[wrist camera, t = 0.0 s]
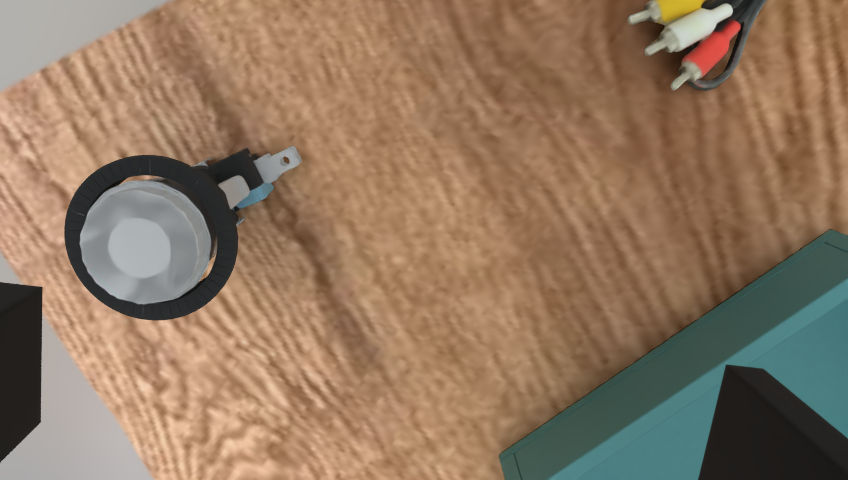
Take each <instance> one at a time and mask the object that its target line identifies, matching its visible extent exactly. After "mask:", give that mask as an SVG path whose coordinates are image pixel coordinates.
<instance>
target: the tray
mask: <svg viewBox="0 0 848 480" xmlns="http://www.w3.org/2000/svg"><path fill="white" fill-rule="evenodd" d="M726 364H727V365H736V366H745V367H754V368H763V369H765V370H766V371H767V372H768V373H769V374H771V375H772V376H773V377H774V378H775V379H777V380H778V381H779V382H780V383H781V384H783V385H784V386H785V387H786V388H788V389H789V390H790V391H791V392H792V393H794V394H795V395H796V396H797V397H798V398H800V399H801V400H802V401H803V402H804V403H806V404H807V405H808V406H809V407H810V408H812V409H813V410H814V411H815V412H817V413H818V414H819V415H820V416H821V417H823V418H824V419H825V420H826V421H827V422H829V423H830V424H831V425H832V426H833V427H835V428H836V429H837V430H838V431H840V432H841V433H842V434H843V435H844V436H846V437H847V438H848V236H847V235H845V234H842V233H838V232H837V231H835V230H832V229H831V230H829V231H827V232H826V233H824V234H823V235H821V236H820V237H818V238H817V239H816V240H814V241H813V242H811V243H810V244H808V245H807V246H805V247H804V248H802V249H801V250H799V251H798V252H796V253H795V254H793V255H792V256H791V257H789V258H788V259H786V260H785V261H783V262H782V263H780V264H779V265H777V266H776V267H774V268H773V269H771V270H770V271H768V272H767V273H766V274H764V275H763V276H761V277H760V278H758V279H757V280H755V281H754V282H752V283H751V284H749V285H748V286H746V287H745V288H743V289H742V290H741V291H739V292H738V293H736V294H735V295H733V296H732V297H730V298H729V299H727V300H726V301H724V302H723V303H721V304H720V305H719V306H717V307H716V308H714V309H713V310H711V311H710V312H708V313H707V314H705V315H704V316H702V317H701V318H699V319H698V320H696V321H695V322H694V323H692V324H691V325H689V326H688V327H686V328H685V329H683V330H682V331H680V332H679V333H677V334H676V335H674V336H673V337H671V338H670V339H669V340H667V341H666V342H664V343H663V344H661V345H660V346H658V347H657V348H655V349H654V350H652V351H651V352H649V353H648V354H647V355H645V356H644V357H642V358H641V359H639V360H638V361H636V362H635V363H633V364H632V365H630V366H629V367H627V368H626V369H624V370H623V371H622V372H620V373H619V374H617V375H616V376H614V377H613V378H611V379H610V380H608V381H607V382H605V383H604V384H602V385H601V386H599V387H598V388H597V389H595V390H594V391H592V392H591V393H589V394H588V395H586V396H585V397H583V398H582V399H580V400H579V401H577V402H576V403H574V404H573V405H572V406H570V407H569V408H567V409H566V410H564V411H563V412H561V413H560V414H558V415H557V416H555V417H554V418H552V419H551V420H550V421H548V422H547V423H545V424H544V425H542V426H541V427H539V428H538V429H536V430H535V431H533V432H532V433H530V434H529V435H527V436H526V437H525V438H523V439H522V440H520V441H519V442H517V443H516V444H514V445H513V446H511V447H510V448H508V449H507V450H505V451H504V452H502V453H501V454H500V455H499V458H500V462H501V466H502V470H503V474H504V477H505V480H698V478H699V474H700V469H701V465H702V461H703V457H704V453H705V449H706V445H707V441H708V436H709V432H710V428H711V424H712V420H713V416H714V412H715V408H716V403H717V399H718V395H719V391H720V387H721V383H722V379H723V375H724V370H725V366H726Z"/></svg>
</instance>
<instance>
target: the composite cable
mask: <svg viewBox="0 0 848 480" xmlns="http://www.w3.org/2000/svg"><path fill="white" fill-rule="evenodd" d="M766 1H767V0H651V1H649V2H648V3H647V4H646V5H645V10H644V11H642V12H638V13H636V14H633V15H629V17H628V20H627V21H628V23H629V24H630V25H634V24H637V23H639V22H642V21H646V20H647V21H652V22H656V23H659V24H663V25H665V28H664V30H663V31H662V32H661V33H660V35H659V36H658V38H657V39H656V40H655V41H653V42H652V43H651V44H650V46H647V47H646V48H645V50H644V53H645V55H646V56H650V55H652V54H654V53H656V52H658V51H659V50H661V49H663V50H664V51H666V52H670V53H671V52H673V51H675V52H678V51H681V50H683V49H684V48H686V47H688V46H689V48H688V50H687V52H686V54H685V57H684V58H683V59H682V62H681V67H680V68H679V70H678V72H679V75H680V76H679V77H677V78H676V79H675V80H674V81H673V83H672V84H671V89H672V90H676V89H677V88H679V87H680V86H681V85H682V84H683V83H684V82H685V81H687V82H688V84H689V85H690V86H691V87H693V88H695V89H698V90H704V91H707V90H711V89H714V88H716V87H717V86H718V85H720V84H721V83H722V82H723V81H725V80H726V79H727V78H728V77H729V76H730V75H731V74H732V72H733V71H734V69H735V67H736V66H737V64H738V62H739V60H740V57H741V54H742V52H743V49H744V46H745V43H746V40H747V37H748V34H749V31H750V29H751V27H752V25H753V22H754V20H755V19H756V17H757V15H758V13H759V11H760V10H761V8H762V7H763V5H764V3H765V2H766ZM741 23H742V24H741ZM740 24H741V26H740ZM737 33H738V35H737V38H736V41H735V44H734V47H733V50H732V53H731V56H730V59H729V61H728V63H727V66H726V68H725V70H724V71H723V73H721V74H720V75H719V76H718V77H716V78H715V79H713V80H707V81H703V80H700V79H699V78H702V77H703V76H704V75H705V74H706V73H707V72H708V71H709V70H710V69H711V68H712V67H713V66H714V65H715V64H716V63H718V62H719V61H720V59H721V58H722V57H723V56H724V55H725V54H726V53H727V52H728V49H729V42H730V40H731V39H732V38H733V37H734V36H735V35H736V34H737Z"/></svg>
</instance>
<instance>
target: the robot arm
mask: <svg viewBox="0 0 848 480" xmlns="http://www.w3.org/2000/svg"><path fill="white" fill-rule="evenodd" d="M41 351H42V287H37V286H28V285H19V284H10V283H2V282H0V462H1V461H2V460H3V459H4V458H5V457H6V456H7V455H8V454H9V453H10V452H11V451H12V450H13V449H14V448H15V447H16V446H17V445H18V444H19V443H20V442H21V441H22V440H23V439H24V438H25V437H26V436H27V435H28V434H29V433H30V432H31V431H32V430H33V429H34V428H35V427H36V426H37V425H38V424H39V423H40V422H41V419H40V418H41ZM698 480H848V438H847V437H846V436H844V435H843V434H842V433H841V432H840V431H838V430H837V429H836V428H835V427H833V426H832V425H831V424H830V423H829V422H827V421H826V420H825V419H824V418H823V417H821V416H820V415H819V414H818V413H817V412H815V411H814V410H813V409H812V408H810V407H809V406H808V405H807V404H806V403H804V402H803V401H802V400H801V399H800V398H798V397H797V396H796V395H795V394H794V393H792V392H791V391H790V390H789V389H788V388H786V387H785V386H784V385H783V384H781V383H780V382H779V381H778V380H777V379H775V378H774V377H773V376H772V375H771V374H769V373H768V372H767V371H766V370H765V369H763V368H754V367H745V366H736V365H727V364H726V366H725V370H724V375H723V379H722V383H721V387H720V391H719V395H718V399H717V403H716V408H715V412H714V416H713V420H712V424H711V428H710V432H709V436H708V441H707V445H706V449H705V453H704V457H703V461H702V465H701V469H700V474H699V478H698Z"/></svg>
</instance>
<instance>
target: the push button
mask: <svg viewBox="0 0 848 480" xmlns="http://www.w3.org/2000/svg"><path fill="white" fill-rule="evenodd" d="M284 156H285V157H287V158H289V160H290V163H286V162H284V160H283V157H284ZM211 159H213V157H211V158H209V159H206V160H204V161H202V162H200V163H198V164H196V165H194V166H192V167H191V166H189V165H187V164H185V163H183V162H181V161H178V160H175V159H172V158H168V157H163V156H156V155H138V156H131V157H126V158H123V159H120V160H117V161H114V162H111V163H109V164H107V165H105V166H103V167H101V168H100V169H98V170H97V171H95V172H94V173H93V174H91V175H90V176H89V177H88V178H87V179H86V180H85V181H84V182H83V183H82V184H81V186H80V187H79V188H78V190H77V191H76V193H75V194H74V196H73V198H72V200H71V202H70V205H69V208H68V210H67V215H66V219H65V245H66V249H67V254H68V257H69V260H70V263H71V265H72V267H73V269H74V271H75V273H76V274H77V276H78V278H79V279H80V281H81V282H82V283H83V285H84V286H85V287H86V288H87V289H88V290H89V292H90V293H91V294H93V295H94V296H95V297H96V298H97V299H98V300H100V301H101V302H102V303H104V304H105V305H107V306H108V307H110V308H112V309H114V310H116V311H118V312H120V313H122V314H125V315H128V316H131V317H135V318H139V319H145V320H168V319H174V318H178V317H182V316H185V315H188V314H190V313H192V312H194V311H196V310H198V309H200V308H201V307H203V306H205V305H206V304H207V303H208V302H210V301H211V300H212V299H213V298H214V297H215V296H216V295H217V294H218V293H219V291H220V290H221V289H222V288H223V286H224V285H225V283H226V282H227V280H228V279H229V277H230V275H231V273H232V271H233V268H234V265H235V261H236V257H237V250H238V234H237V227H236V226H238V225H239V224H241V223H242V222H243V221H244V220H245V217H244V218H241V219H239V218H238V216H237V214H236V213H235V212H236V211H238V210H240V209H242V208H244V207H246V206H248V205H253V204H255V203H257V202H259V201H261V200H263V199H265V198H266V197H267V196H268V194H269V193H270V192H271V191H272V190H273V189H274V187H273V185H272V183H271V182H273V181H275V180H277V179H278V177H280V176H282V175H281V173H283V172H286V171H288V170H290V169H292V168H294V167H296V166H298V165H299V164H300V163H301V161H302V159H301V157H300V155H299V153H298V151H297V149H296V147H294V146H292V147H289V148H287V149H285V150H283V151H281V152H279V153H277V154H274V155H272V156H271V154H270V153H268V154H266V155H264V156H262V157H260V158H259V157H258V156H257V154H254V155H251V154H250V152H249V150H248V148H246V149H244V150H242V151H239V152H237V153H235V154H233V155H231V156H229V157H227V158H225V159H223V160H221V161H219V162H217V163H215V164H213V165H210V166H208V165H207V164H206V162H207V161H209V160H211ZM138 175H153V176H159V177H161V178H155V179H149V180H143V181H129V182H126V183H123V184H121V185H119V184H120V183H122V182H123V181H124V180H125V179H127V178H128V177H132V176H138ZM216 250H217V253H216ZM215 254H216V258H215V262H214V265H213V267H212V269H211V271H210V273H209V275H208V276H207V277H206V278H205V279H203V280H202V281H200V282H199V280H200V279H201V277H202V275H203V273H204V272H205V270H206V268H207V267H208V264H209V261H210V260H211V259H212V258H213V257H214V255H215Z"/></svg>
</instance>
